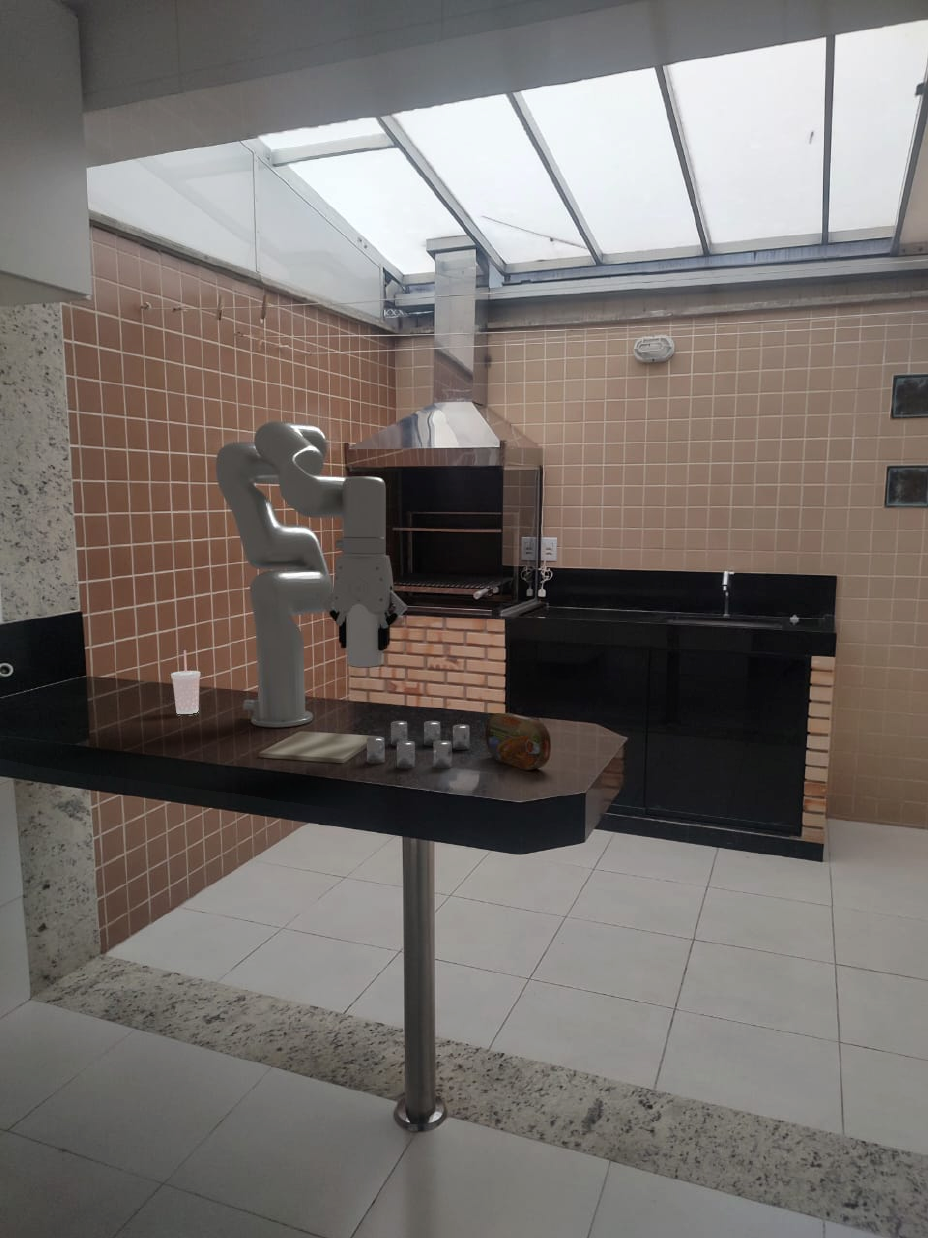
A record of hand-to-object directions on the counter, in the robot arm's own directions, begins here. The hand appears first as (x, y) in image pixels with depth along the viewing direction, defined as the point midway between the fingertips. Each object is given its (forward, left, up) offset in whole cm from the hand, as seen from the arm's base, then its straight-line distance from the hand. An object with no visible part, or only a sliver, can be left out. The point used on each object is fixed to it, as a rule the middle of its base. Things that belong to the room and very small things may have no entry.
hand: (364, 647), depth 145 cm
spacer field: (+10, 0, -19) cm, 21 cm away
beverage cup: (-50, +19, -19) cm, 57 cm away
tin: (+28, -2, -19) cm, 34 cm away
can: (0, 0, -3) cm, 3 cm away
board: (-9, -1, -19) cm, 21 cm away
